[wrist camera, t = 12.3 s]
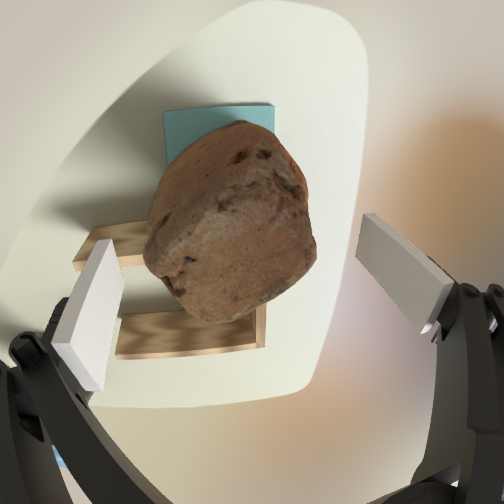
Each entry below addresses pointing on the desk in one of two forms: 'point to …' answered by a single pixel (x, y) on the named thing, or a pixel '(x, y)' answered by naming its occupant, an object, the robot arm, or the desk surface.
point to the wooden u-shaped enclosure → (173, 322)
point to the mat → (208, 123)
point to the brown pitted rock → (230, 223)
